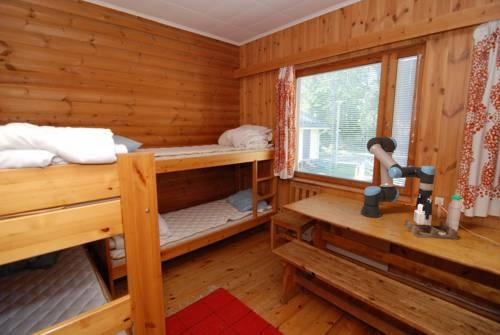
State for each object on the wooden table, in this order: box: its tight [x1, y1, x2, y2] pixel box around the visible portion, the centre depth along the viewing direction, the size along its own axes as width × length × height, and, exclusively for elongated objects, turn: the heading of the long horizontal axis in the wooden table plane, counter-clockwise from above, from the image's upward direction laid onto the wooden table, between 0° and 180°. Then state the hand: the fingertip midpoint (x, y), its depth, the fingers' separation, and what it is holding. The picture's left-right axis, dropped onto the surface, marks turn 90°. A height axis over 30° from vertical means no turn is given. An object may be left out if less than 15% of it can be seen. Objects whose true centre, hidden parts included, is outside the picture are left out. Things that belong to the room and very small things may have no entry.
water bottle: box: [445, 194, 462, 231], centre depth 168 cm, size 7×7×25 cm
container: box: [413, 204, 433, 225], centre depth 163 cm, size 8×8×13 cm
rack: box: [403, 219, 459, 241], centre depth 164 cm, size 18×24×6 cm
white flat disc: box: [437, 229, 446, 236], centre depth 164 cm, size 8×8×1 cm
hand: (422, 221), depth 164 cm, fingers closed on container, 8 cm apart
